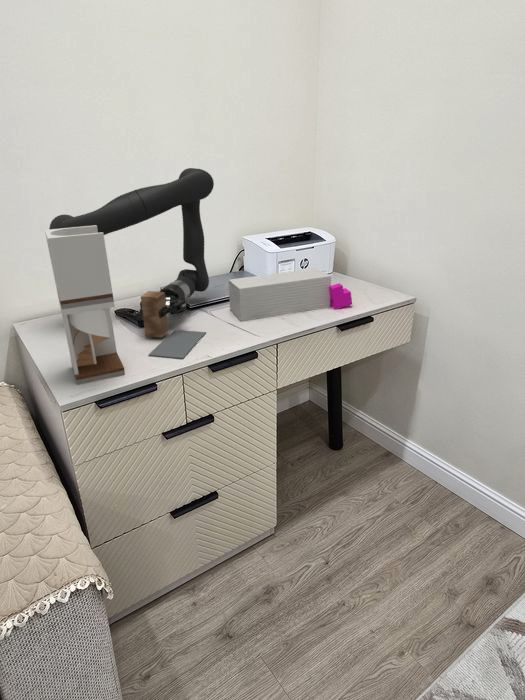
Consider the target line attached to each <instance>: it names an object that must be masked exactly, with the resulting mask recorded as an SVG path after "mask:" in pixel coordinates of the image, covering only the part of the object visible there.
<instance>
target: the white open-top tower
mask: <svg viewBox="0 0 525 700" xmlns="http://www.w3.org/2000/svg"><path fill="white" fill-rule="evenodd" d="M44 234H45V238H46V243H47V248H48V252H49V254H48V255H49V258H50V264H51V268H52V272H53V273H52V274H53V277H54V281H55V282H54V283H55V287H56V293H57V298H58V303H59V306H60V313H61V316H62V321H63V328H64V332H65V337H66V341H67V346H68V351H69V356H70V362H71V366H72V371H73V375H74V378H75V382H76V385H82V384H87V383H91V382H96V381H101V380H105V379H111V378H116V377H119V376H120V377H121V376H124V375H126V372H125V367H124V365H123V362H122V360H121V358H120V356H119V353H118V352H117V351H118V350H117V345H116V339H115V338H116V337H115V332H114V326H113V320H112V319H113V318H112V315H111V313H112V312H111V309H113V308H115V301H114V294H113V288H112V280H111V279H112V278H111V273H110V268H109V260H108V254H107V248H106V240H105V235H104V234H103V232H101V233H98V229H97V225H94V226H83V227H72V228H61V229H50V230H49V229H45V230H44Z"/></svg>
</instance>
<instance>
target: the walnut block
mask: <svg viewBox="0 0 525 700" xmlns="http://www.w3.org/2000/svg"><path fill="white" fill-rule="evenodd" d="M140 302H141V303H142V310H143V316H142V317H143V328H144V335H145V337H152V338H162V337H164V336H165V335H166V334H167V333H168V332H169V321H168V314H167V315H166V316H164V317H163V318H159V313H158V311H159V310H160V309H162V308H163V307H165V305H166V300H165V292H160V291H153V290H152V291H151V290H148V291H147V292H145V293H144V294H142V295H141V296H140Z"/></svg>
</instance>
